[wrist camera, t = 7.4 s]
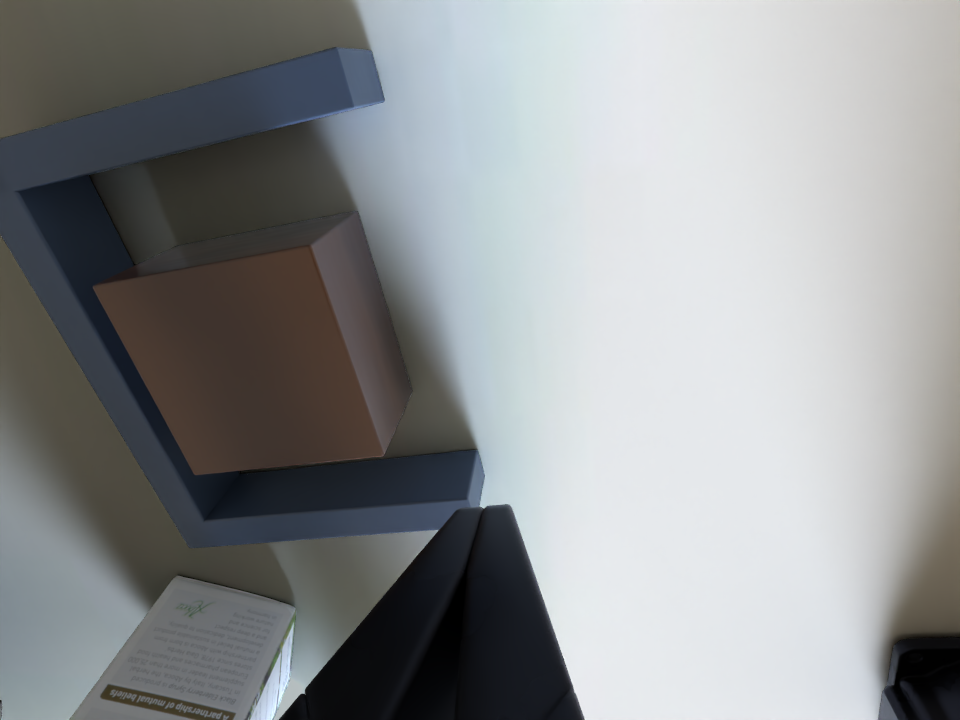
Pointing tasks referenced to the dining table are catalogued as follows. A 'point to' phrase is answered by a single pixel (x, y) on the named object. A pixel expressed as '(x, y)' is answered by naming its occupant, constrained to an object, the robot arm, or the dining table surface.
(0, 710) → the stone bowl
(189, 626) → the syrup box
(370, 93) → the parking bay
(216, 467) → the walnut block
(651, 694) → the dining table surface
